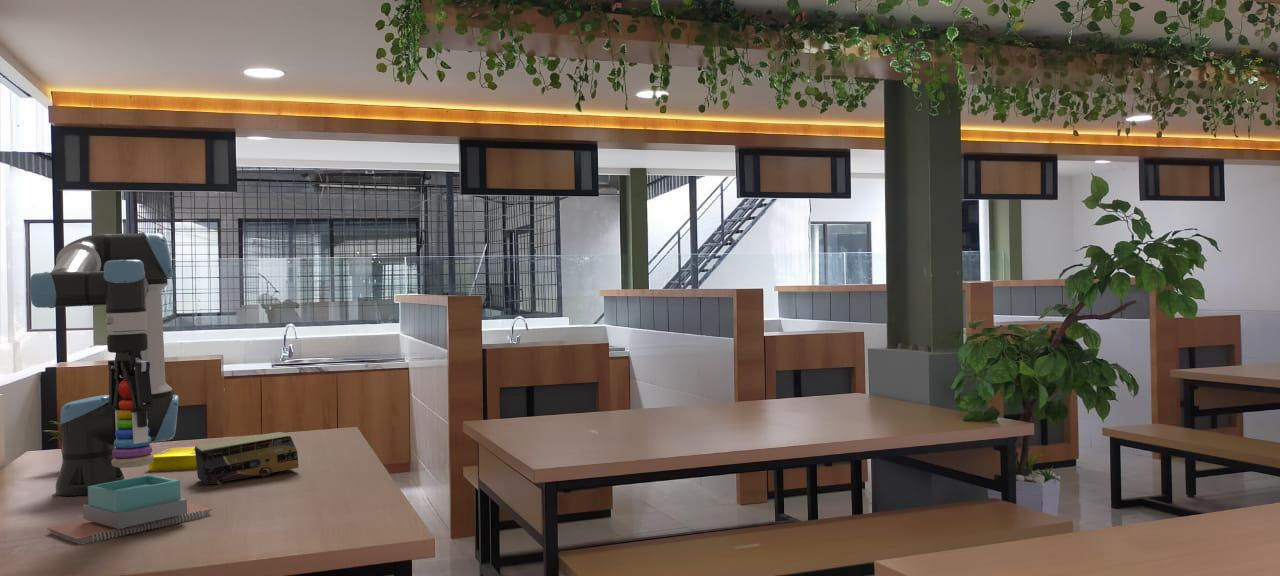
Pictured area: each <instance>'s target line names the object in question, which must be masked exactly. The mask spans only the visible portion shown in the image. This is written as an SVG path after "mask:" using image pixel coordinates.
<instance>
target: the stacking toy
mask: <svg viewBox="0 0 1280 576" xmlns="http://www.w3.org/2000/svg"><path fill="white" fill-rule="evenodd" d="M118 390H119V394H120V395H121V396H122V397H123V398H124V400H121V401H120V402H119V408H120V409H122V410H120V411H119V412H118V413H117V416H118V418H119V420H118V421H117V427H118V428H119V429H117V430H116V432H115V436H116V437H117V439H116V440H115V441H114V446H115V449H113V451H112V455H113V456H114V457H115V458H113V459H112V461H111V463H112V465H113V466H114V467H118V468H121V469H129V468H138V467H143V466H147V465H148V466H149V464H150V463H152V462H153V461H154V456H153V455H154V454H152V452H153V447H152V445H151V444H152V442H151V437H150V436H148V442H144V443H137V444H133V425H132V413H131V410H133V409H134V407H133V402H132V398H131V393H130V389H129V384H128V382H126V381H125V379H123V380H122V381H121V382H120V384H119V387H118ZM147 425H148V419H147ZM149 432H150V430H149V428H148V434H149Z"/></svg>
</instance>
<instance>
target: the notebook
mask: <svg viewBox="0 0 1280 576" xmlns="http://www.w3.org/2000/svg"><path fill="white" fill-rule="evenodd" d="M211 511H213V509H212V508H210V507H206V506H201V505H197V504H193V503H189V502H187V514H183V515H178V516H174V517H170V518H165V519H161V520H156V521H152V522H148V523H143V524H139V525H134V526H130V527H125V528H121V529H117V528H113V527H110V526H106V525H103V524H99V523H95V522H92V521H88V520H85V519H83V520H77V521H74V522H73V521H72V522H68V523H64V524H59V525H58V524H57V525H55V526H50V527H49V526H48V527H46V530H49V534H50V533H52V534H51V535H53V534H55V535H57V536H56V537H58V536H60V537H59V538H61V537H63V538H62V539H64V538H66V539H68V541H69V540H71V541H70V542H72V541H74V542H73V543H75V542H77V543H79V544H78V545H84V544H83V543H85V544H89V543H95V542H99V541H101V542H102V541H103V540H104V541H106V540H107V539H108V540H110V539H111V538H112V539H114V538H118V537H122V536H123V537H124V536H126V535H127V536H128V535H133V534H136V533H140V532H141V533H143V531H144V532H146V531H147V530H148V531H150V529H151V530H154V529H157V528H158V529H159V528H161V527H162V528H164V526H165V527H168V526H171V525H173V526H174V525H175V524H178V523H179V524H180V523H181V522H182V523H184V522H187V523H188V521H189V522H190V521H191V520H192V521H195V520H198V519H201V518H202V519H204V517H209V516H211ZM55 535H54V536H55ZM66 539H65V540H66ZM77 543H76V544H77Z"/></svg>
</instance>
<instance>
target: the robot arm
mask: <svg viewBox="0 0 1280 576" xmlns="http://www.w3.org/2000/svg"><path fill="white" fill-rule="evenodd" d="M173 277H174V271H173V265H172V260H171V253H170V251H169V246H168V241H167V238H166V237H165V235H163V234H162V233H154V232H153V233H152V232H151V233H150V232H139V233H138V232H137V233H136V232H133V233H130V232H128V233H97V234H92V235H87V236H84V237H80V238H78V239H75V240H73V241H71V242H70V243H67V244H66V245H65V246H63V247H62V248H61V249H60V251H59V252H58V253H57V255H56V259H55V265H54V267H53V268H52V270H51V271H50V272H48V271H44V272H39V273H38V272H36V273H33V274H32V275H31V276H30V279H29V296H30V301H31V304H32V306H34V307H35V308H38V309H39V308H42V309H43V308H44V309H45V308H46V309H54V308H69V307H73V308H74V307H87V306H88V307H91V306H92V307H93V306H94V307H95V306H105V307H106V308H105V318H104V323H106V332H107V333H110V334H108V335H107V336H106V339H107V340H106V342H107V344H106V346H107V347H106V348H107V351H108V352H109V353H111V354H112V353H113V354H114V353H115V355H114V356H115V357H114V360H108V361H107V366H108V394H104V395H97V396H95V395H94V396H92V397H85V398H82V399H78V400H73V401H69V402H66V403H65V404H64V405H63V406H61V409H60V422H59V423H60V424H61V427H60V432H61V436H60V437H61V438H62V439H61V448H62V451H61V457H62V462H61V466H60V469H59V473H58V476H57V479H56V483H55V494H56V495H57V496H61V495H62V496H63V497H65V496H66V497H68V496H69V497H72V496H73V497H75V496H88V486H92V485H98V484H103V483H108V482H114V481H119V480H124V479H125V476H124V474H123V470H122V468H118V467H114V466H113V465H112V463H111V461H112V459H113V458H115V457H114V456H113V455H112V451H113V449H115V448H116V447H115V446H114V441H115V440H116V439H117V437H116V436H115V432H116V430H117V429H119V428H118V427H117V421H118V420H119V418H118V416H117V413H118V412H119V411H120V410H122V409H120V408H119V402H120V401H121V400H124V398H123V397H122V396H121V395H120V394H119V390H118V387H119V384H120V382H121V381H122V380H123V379H125V381H126V382H128V384H129V389H130V393H131V398H132V402H133V407H134V409H133V410H131V413H132V425H133V444H137V443H144V442H148V436H150V437H151V443H154V444H155V443H157V442H163V441H170V440H172V439H173V438H174V437H175V435H176V429H177V423H178V422H177V420H178V413H179V400H180V398H179V395H178V394H177V395H176V394H173V387H171V386H170V385H169V384H167V382H166V363H165V361H166V359H165V346H164V345H165V344H164V341H165V339H164V323H163V305H162V304H163V301H162V292H163V290H164V289H165V288H166V287H167V285H168V279H171V278H173ZM147 419H148V425H147ZM60 424H59V425H60ZM148 428H149V430H150V432H149V434H148ZM62 496H61V497H62Z"/></svg>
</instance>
